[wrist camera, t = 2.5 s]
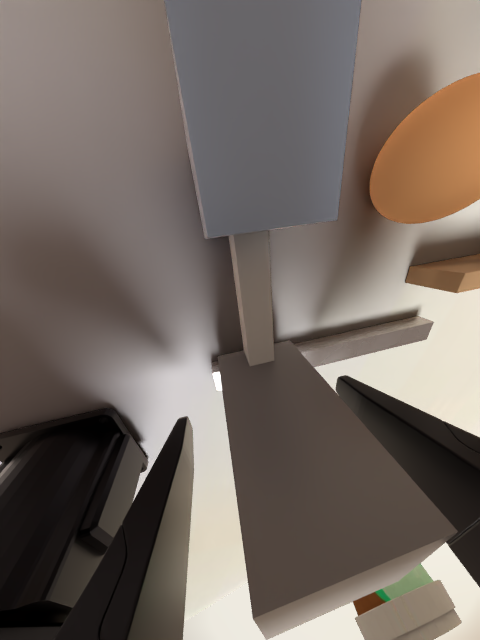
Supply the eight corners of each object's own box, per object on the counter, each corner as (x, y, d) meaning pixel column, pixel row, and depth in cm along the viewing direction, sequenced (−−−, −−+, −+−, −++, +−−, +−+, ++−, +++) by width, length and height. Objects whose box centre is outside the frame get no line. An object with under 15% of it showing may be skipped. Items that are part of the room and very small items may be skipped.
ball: (342, 231, 9) (436, 225, 5) (355, 124, 7) (508, 8, 4) (408, 222, 9) (534, 211, 6) (435, 119, 8) (640, 13, 4)
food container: (387, 483, 26) (483, 608, 17) (358, 505, 28) (432, 631, 19) (339, 475, 21) (437, 641, 13) (307, 501, 23) (374, 667, 14)
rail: (215, 379, 11) (217, 390, 10) (211, 362, 11) (212, 373, 10) (411, 332, 13) (426, 339, 12) (417, 316, 13) (433, 321, 12)
